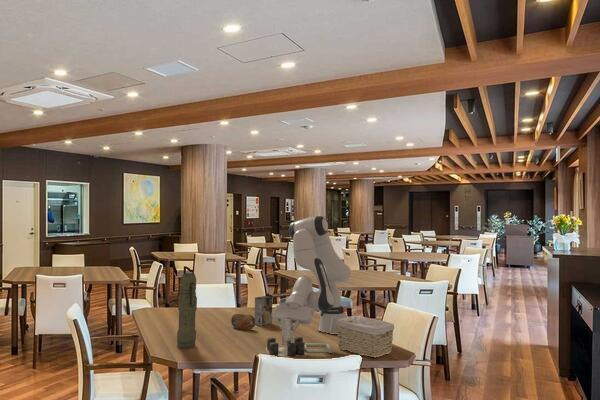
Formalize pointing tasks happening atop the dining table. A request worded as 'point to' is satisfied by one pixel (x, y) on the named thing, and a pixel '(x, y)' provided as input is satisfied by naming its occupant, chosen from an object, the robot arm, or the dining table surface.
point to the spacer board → (286, 348)
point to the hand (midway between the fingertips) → (287, 329)
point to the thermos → (187, 311)
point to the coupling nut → (287, 331)
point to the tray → (318, 345)
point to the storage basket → (365, 335)
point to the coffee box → (263, 310)
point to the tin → (243, 321)
